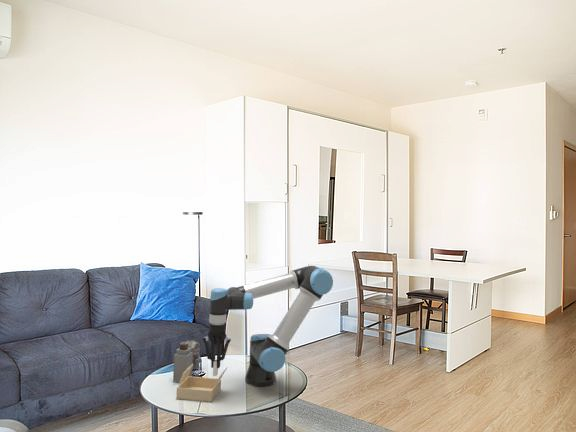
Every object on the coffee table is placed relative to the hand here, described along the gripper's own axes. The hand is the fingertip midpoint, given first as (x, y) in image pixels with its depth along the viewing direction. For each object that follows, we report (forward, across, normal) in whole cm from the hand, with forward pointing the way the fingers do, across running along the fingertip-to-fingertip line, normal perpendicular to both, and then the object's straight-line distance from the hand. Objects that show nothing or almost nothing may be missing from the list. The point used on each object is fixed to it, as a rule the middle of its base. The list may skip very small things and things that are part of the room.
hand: (215, 374), depth 215 cm
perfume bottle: (+10, +20, -14) cm, 26 cm away
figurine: (+10, +23, -31) cm, 40 cm away
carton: (+10, +7, 0) cm, 12 cm away
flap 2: (+1, -2, 0) cm, 2 cm away
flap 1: (+1, +14, 0) cm, 14 cm away
